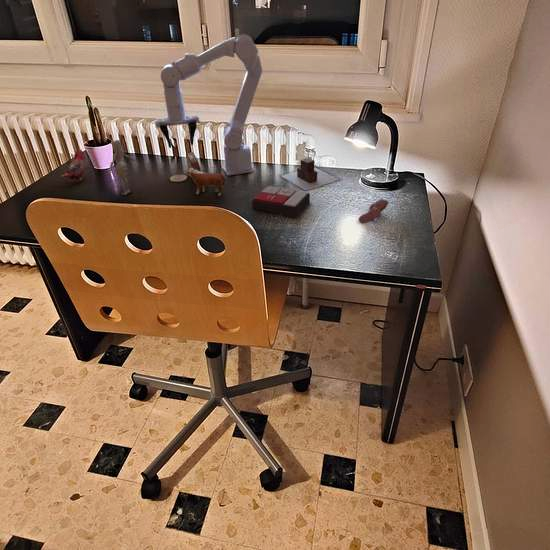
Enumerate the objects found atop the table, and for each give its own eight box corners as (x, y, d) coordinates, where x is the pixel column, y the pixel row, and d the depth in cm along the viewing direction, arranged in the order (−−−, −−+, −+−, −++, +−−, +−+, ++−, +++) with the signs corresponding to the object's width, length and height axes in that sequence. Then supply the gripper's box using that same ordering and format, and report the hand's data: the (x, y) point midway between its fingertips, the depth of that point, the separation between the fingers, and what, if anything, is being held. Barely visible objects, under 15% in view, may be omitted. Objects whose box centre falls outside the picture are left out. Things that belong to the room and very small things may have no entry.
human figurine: (135, 185, 146) (123, 133, 135) (143, 187, 144) (132, 135, 134) (110, 200, 137) (96, 145, 126) (119, 202, 136) (105, 147, 125)
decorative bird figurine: (93, 173, 155) (85, 146, 149) (69, 194, 141) (60, 166, 135) (85, 173, 155) (77, 146, 149) (61, 194, 141) (51, 165, 135)
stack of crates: (339, 179, 148) (341, 160, 144) (305, 190, 141) (306, 171, 137) (313, 166, 158) (313, 148, 154) (280, 175, 151) (280, 157, 147)
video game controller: (368, 230, 122) (382, 214, 117) (356, 220, 123) (369, 204, 118) (381, 216, 129) (394, 200, 124) (369, 207, 129) (381, 191, 124)
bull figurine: (191, 188, 144) (188, 165, 139) (227, 192, 141) (225, 169, 136) (185, 193, 140) (182, 170, 136) (222, 198, 137) (220, 174, 132)
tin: (204, 186, 145) (201, 163, 140) (195, 187, 144) (191, 164, 139) (196, 170, 156) (193, 148, 151) (187, 171, 155) (184, 149, 150)
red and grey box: (267, 184, 136) (310, 190, 131) (268, 196, 139) (310, 203, 133) (251, 198, 129) (295, 205, 123) (252, 210, 131) (296, 218, 125)
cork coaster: (185, 174, 153) (185, 173, 153) (188, 180, 149) (188, 179, 148) (169, 177, 152) (168, 175, 151) (171, 183, 147) (171, 182, 147)
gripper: (154, 110, 135) (161, 152, 143) (198, 106, 138) (203, 146, 147) (151, 105, 140) (159, 145, 148) (194, 100, 144) (199, 140, 152)
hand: (181, 145), depth 148 cm, fingers open, 7 cm apart
